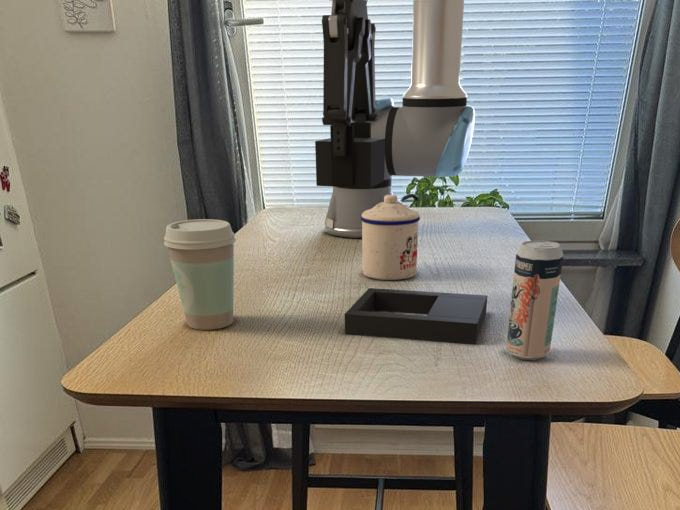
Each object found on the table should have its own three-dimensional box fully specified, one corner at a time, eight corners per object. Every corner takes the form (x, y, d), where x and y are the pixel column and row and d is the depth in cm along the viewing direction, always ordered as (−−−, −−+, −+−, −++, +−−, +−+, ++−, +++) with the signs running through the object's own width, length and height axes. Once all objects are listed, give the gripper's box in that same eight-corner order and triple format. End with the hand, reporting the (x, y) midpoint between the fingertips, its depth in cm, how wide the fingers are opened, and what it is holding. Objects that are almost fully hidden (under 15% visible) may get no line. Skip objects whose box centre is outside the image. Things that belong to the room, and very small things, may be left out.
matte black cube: (333, 179, 89) (332, 137, 86) (384, 181, 87) (385, 138, 85) (316, 185, 83) (314, 141, 81) (370, 188, 82) (370, 142, 79)
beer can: (500, 348, 77) (512, 240, 71) (540, 346, 78) (555, 238, 71) (512, 363, 73) (525, 250, 67) (554, 361, 74) (571, 248, 67)
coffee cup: (186, 312, 90) (172, 218, 84) (249, 312, 90) (240, 218, 83) (168, 333, 82) (152, 232, 76) (237, 334, 82) (226, 232, 76)
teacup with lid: (410, 283, 102) (413, 201, 96) (353, 279, 104) (352, 198, 98) (427, 264, 112) (430, 189, 106) (374, 261, 114) (374, 187, 108)
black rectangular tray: (368, 305, 92) (368, 287, 91) (485, 314, 88) (487, 295, 87) (344, 333, 82) (344, 313, 81) (475, 344, 78) (477, 323, 77)
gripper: (343, -31, 83) (346, 172, 94) (284, -60, 66) (296, 191, 78) (402, -34, 81) (398, 173, 92) (357, -64, 64) (358, 193, 76)
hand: (351, 181), depth 85 cm, fingers closed on matte black cube, 7 cm apart
